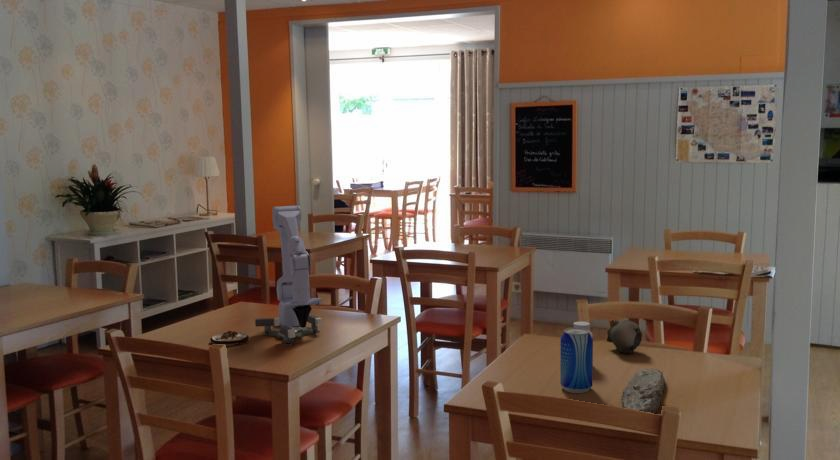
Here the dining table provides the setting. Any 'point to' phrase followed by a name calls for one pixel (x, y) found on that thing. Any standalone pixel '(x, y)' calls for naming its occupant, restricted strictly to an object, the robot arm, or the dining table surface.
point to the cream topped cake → (230, 338)
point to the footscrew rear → (267, 323)
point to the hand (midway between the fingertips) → (302, 326)
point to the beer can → (576, 360)
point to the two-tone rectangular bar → (287, 333)
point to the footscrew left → (314, 322)
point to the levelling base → (298, 333)
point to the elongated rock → (644, 391)
